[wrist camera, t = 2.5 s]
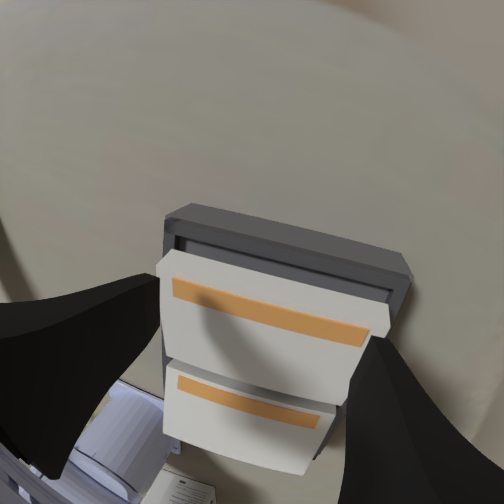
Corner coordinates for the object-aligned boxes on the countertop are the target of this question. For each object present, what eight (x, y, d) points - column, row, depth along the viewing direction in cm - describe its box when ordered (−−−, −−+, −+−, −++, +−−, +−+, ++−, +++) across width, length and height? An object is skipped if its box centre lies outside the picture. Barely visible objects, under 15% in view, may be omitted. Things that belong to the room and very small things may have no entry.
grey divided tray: (323, 425, 21) (318, 460, 18) (181, 384, 23) (161, 413, 20) (400, 253, 15) (416, 282, 12) (191, 203, 17) (159, 218, 14)
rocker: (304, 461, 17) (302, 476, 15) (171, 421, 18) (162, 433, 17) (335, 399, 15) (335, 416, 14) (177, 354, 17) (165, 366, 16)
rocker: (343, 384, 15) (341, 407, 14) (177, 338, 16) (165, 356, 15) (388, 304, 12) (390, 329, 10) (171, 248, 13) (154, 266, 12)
